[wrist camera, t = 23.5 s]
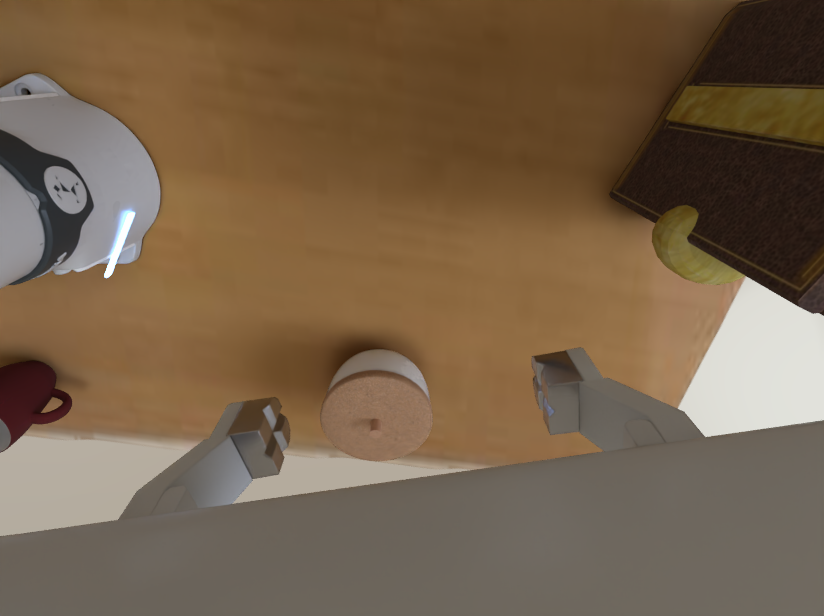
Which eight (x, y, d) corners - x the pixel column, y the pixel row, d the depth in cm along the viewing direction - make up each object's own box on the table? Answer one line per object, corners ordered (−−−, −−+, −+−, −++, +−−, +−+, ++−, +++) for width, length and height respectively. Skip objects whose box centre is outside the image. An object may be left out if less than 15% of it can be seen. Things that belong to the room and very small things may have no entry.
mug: (87, 354, 55) (26, 407, 46) (98, 403, 58) (43, 461, 49) (-2, 342, 54) (-83, 394, 45) (14, 393, 57) (-57, 450, 48)
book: (730, -14, 38) (1194, -147, 15) (802, 33, 39) (1313, -26, 17) (584, 215, 47) (743, 336, 25) (647, 244, 49) (848, 383, 26)
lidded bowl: (368, 313, 52) (360, 367, 42) (448, 365, 56) (457, 425, 46) (314, 380, 57) (294, 443, 47) (391, 424, 61) (388, 490, 51)
